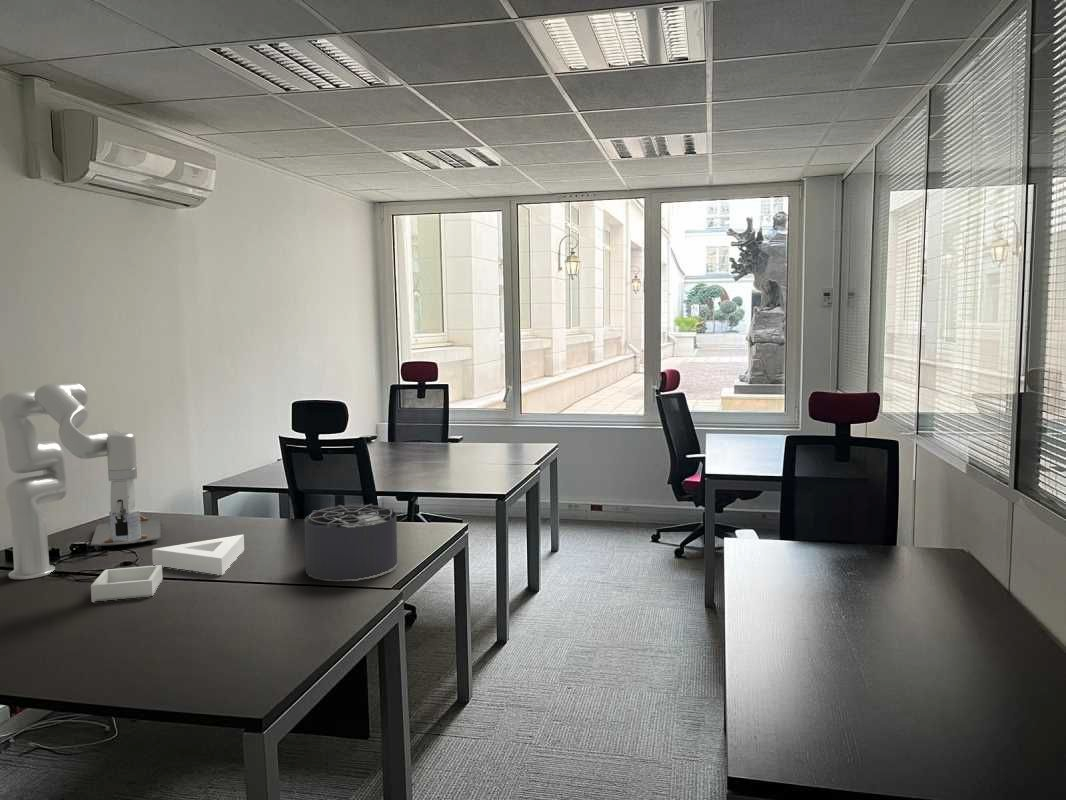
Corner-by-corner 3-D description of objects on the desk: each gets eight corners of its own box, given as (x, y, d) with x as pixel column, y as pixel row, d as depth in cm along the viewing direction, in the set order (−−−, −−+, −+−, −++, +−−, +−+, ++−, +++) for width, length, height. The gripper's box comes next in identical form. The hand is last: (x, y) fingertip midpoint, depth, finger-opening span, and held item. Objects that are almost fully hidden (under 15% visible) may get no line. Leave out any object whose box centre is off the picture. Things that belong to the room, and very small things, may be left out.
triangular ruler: (153, 567, 256) (152, 549, 255) (212, 547, 280) (211, 530, 279) (222, 577, 244) (221, 558, 244) (277, 555, 268) (277, 538, 268)
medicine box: (141, 538, 229) (140, 510, 228) (128, 542, 225) (126, 513, 224) (123, 536, 232) (122, 508, 232) (110, 539, 228) (108, 511, 228)
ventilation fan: (412, 505, 261) (370, 526, 232) (413, 558, 263) (372, 585, 234) (333, 500, 269) (284, 520, 240) (335, 552, 271) (286, 578, 242)
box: (105, 585, 235) (105, 569, 235) (162, 580, 240) (161, 564, 239) (91, 602, 220) (90, 585, 220) (152, 597, 225) (151, 580, 224)
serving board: (97, 530, 306) (96, 514, 305) (161, 523, 316) (160, 508, 315) (89, 554, 271) (88, 537, 270) (161, 546, 281) (160, 529, 280)
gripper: (115, 470, 234) (118, 525, 236) (100, 480, 218) (104, 540, 219) (142, 469, 236) (145, 524, 238) (130, 478, 220) (133, 538, 221)
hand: (125, 531), depth 228 cm, fingers closed on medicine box, 8 cm apart
